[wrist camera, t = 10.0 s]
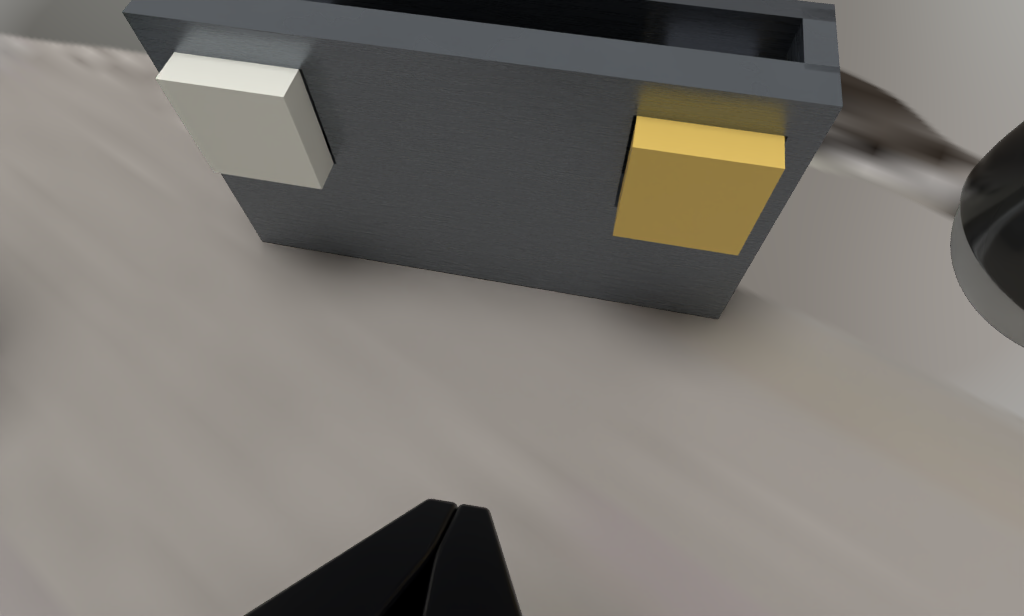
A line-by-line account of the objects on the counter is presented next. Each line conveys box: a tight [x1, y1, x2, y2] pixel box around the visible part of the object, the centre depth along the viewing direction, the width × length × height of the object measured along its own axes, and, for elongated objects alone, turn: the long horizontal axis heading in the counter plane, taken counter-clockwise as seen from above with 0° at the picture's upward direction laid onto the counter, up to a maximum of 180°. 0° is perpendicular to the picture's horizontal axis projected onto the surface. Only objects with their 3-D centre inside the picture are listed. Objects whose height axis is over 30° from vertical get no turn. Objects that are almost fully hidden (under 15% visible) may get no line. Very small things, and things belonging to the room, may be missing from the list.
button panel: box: [122, 0, 843, 319], centre depth 23 cm, size 4×20×11 cm, turn 78°
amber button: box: [613, 116, 785, 256], centre depth 19 cm, size 5×4×4 cm
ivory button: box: [155, 52, 334, 189], centre depth 21 cm, size 5×4×4 cm
